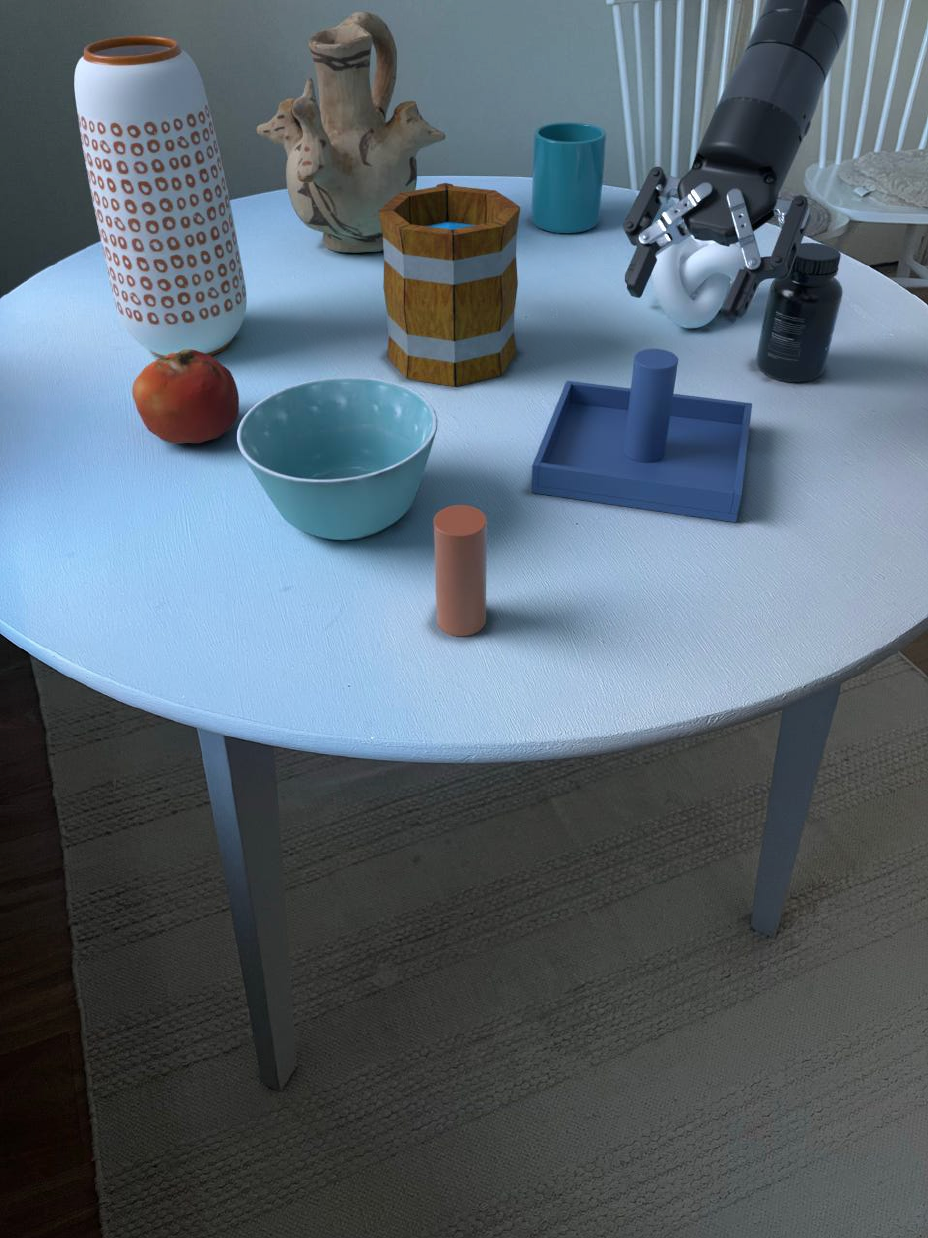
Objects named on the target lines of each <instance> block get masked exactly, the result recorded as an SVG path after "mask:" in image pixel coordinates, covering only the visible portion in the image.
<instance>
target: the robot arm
mask: <svg viewBox="0 0 928 1238" xmlns="http://www.w3.org/2000/svg"><path fill="white" fill-rule="evenodd" d="M848 27H849V16H848V12H847V9H846V7H845V5H844V4H843V2H842V1H841V0H765V1H764V4H763V7H762V10H761V12H760V14H759V17H758V21H757V22H756V24H755V27H754V29H753V31H752V32H751V35H750V38H749V40H748V42H747V45H746V47H745V49H744V52H743V54H742V56H741V58H740V60H739V62H738V63H737V65H736V67H735V68H734V70H733V71H732V73H731V75H730V77H729V79H728V81H727V82H726V84H725V88H724V90H723V92H722V94H721V96H720V99H719V101H718V103H717V106H716V108H715V110H714V112H713V115H712V116H711V119H710V122H709V123H708V126H707V129H706V131H705V133H704V135H703V138H702V140H701V142H700V144H699V147H698V149H697V151H696V153H695V156H694V159H693V162H692V166H691V168H690V169H689V170H688V172H687V173H686V174H685V175H683V176H682V177H681V178H679V177H676V176H672V175H669V174H666V173H665V171H664V169H663V168H662V167H661V166H654V167H652V168H651V169H650V171H649V172H648V175H647V176H646V178H645V180H644V181H643V184H642V186H641V188H640V190H639V191H638V194H637V196H636V198H635V200H634V202H633V204H632V205H631V208H630V210H629V212H628V214H627V216H626V218H625V220H624V222H623V224H622V229H623V231H624V233H625V234H626V237H627V238H628V240H629V242H630V244H631V245H632V246H635V247H636V248H635V251H634V253H633V255H632V257H631V260H630V262H629V265H628V266H627V269H626V271H625V274H624V282H625V284H626V289H627V291H628V293H629V294H630V296H631V297H634V298H637V299H640V298H641V297H643V294H644V291H645V290H646V287H647V285H648V282H649V280H650V278H651V277H652V276H651V273H652V271H653V269H654V266H655V264H656V262H657V258H656V256H657V255H658V254H660V253H661V252H662V251H664V250H665V249H667V248H668V247H670V246H671V245H673V244H679V243H681V242H682V241H684V240H685V239H686V238H688V237H689V236H691V235H693V236H694V239H697V240H701V241H715V242H716V243H718V244H720V245H723V246H727V247H729V246H730V244H734V243H736V244H737V243H739V247H741V250H742V254H743V257H744V261H745V267H744V270H743V269H739V271H738V274H737V276H736V278H735V281H734V283H733V285H732V287H731V290H730V292H729V294H728V296H727V299H726V301H725V303H724V305H723V308H722V311H721V316H722V318H723V320H724V322H726V323H731V324H734V323H735V322H736V320H737V318H740V319H742V318H743V317H744V316H745V315H746V314H747V312H748V309H749V307H750V305H751V304H752V301H753V300H752V298H753V296H754V294H755V292H756V289H757V287H758V285H759V284H760V285H761V283H762V282H763V281H766V280H774V279H776V280H779V281H783V280H785V279H787V278H788V276H789V274H790V271H791V269H792V266H793V263H794V261H795V258H796V255H797V253H798V250H799V247H800V245H801V243H803V242H802V241H803V239H804V237H805V233H806V231H807V229H808V226H809V223H810V221H811V212H810V211H811V210H810V205H809V202H808V198H807V197H806V196H805V195H796V196H795V197H794V198H793V199H792V200H791V199H786V198H784V199H783V198H779V194H780V192H781V189H782V188H783V186H784V183H785V181H786V178H787V176H788V174H789V173H790V169H791V167H792V166H793V163H794V160H795V159H796V156H797V154H798V152H799V150H800V148H801V144H802V143H803V140H804V138H805V137H806V136H807V134H808V133H809V130H810V128H811V124H812V120H813V118H814V115H815V113H816V110H817V108H818V105H819V100H820V97H821V94H822V91H823V88H824V86H825V83H826V80H827V78H828V75H829V74H830V71H831V68H832V67H833V64H834V62H835V60H836V58H837V56H838V54H839V52H840V49H841V47H842V45H843V43H844V40H845V37H846V34H847V32H848ZM676 195H677V197H678V200H679V201H678V202H676V203H675V204H673V205H672V206H670V208H668V209H666V210H665V211H664V212H662V214H661V216H660V218H659V219H658V220H657V221H655V219H656V217H657V214H658V213H659V211H660V209H661V207H662V205H666V204H668V203H669V201H670V200H671V198H672V197H673V196H676ZM775 216H777V217H778V218H777V221H778V224H779V227H780V229H781V230H780V232H779V234H778V237H777V241H776V243H775V245H774V247H773V248H774V249H773V250H772V253H771V255H770V256H769V255H768V256H761V253H760V250H759V247H758V243H757V240H756V236H755V233H754V232H755V231H757V230H758V229H760V228H761V227H763V226H764V225H766V224H767V223H768V222H769V221H771V220H772V219H773V218H775ZM682 220H683V221H682ZM654 221H655V222H654ZM680 221H682V222H681V223H680ZM760 285H759V286H760ZM753 299H754V298H753Z"/></svg>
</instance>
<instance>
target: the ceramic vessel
mask: <svg viewBox="0 0 928 1238" xmlns="http://www.w3.org/2000/svg"><path fill="white" fill-rule="evenodd" d="M308 47H309V50H310V54H311V57H312V60H313V64H314V69H315V74H316V80H317V86H318V94H319V95H318V97H319V103H318V100H317V97H316V92H315V84H314V80H313V78H312V77H308V78H307V80H306V82H305V86H304V90H303V93H302V95H301V96H299V97H298V98H296V99H295V98H294V97H293V98H292V97H290V98H289V97H288V98H287V99H285V100H282V101H281V102H280V103H279V106H278V110H277V112H276V114H275V115H274V116H273V117H272V118H271V119H270V120H269V121H267V122H264V123H261V124H259V125H257V126H256V132H257V134H258V135H259V136H260V137H262V138H263V139H266V140H268V141H270V142H272V143H273V144H275V145H276V146H277V147H281V148H283V149H284V150H285V154H286V157H287V161H286V167H285V171H286V172H285V179H286V180H285V181H286V189H287V192H288V196H289V199H290V202H291V206H292V208H293V210H294V212H295V214H296V216H297V217H298V218H299V220H300V221H301V223H303V224H304V225H305V227H307V228H309V229H312V230H313V231H316V232H320V233H322V244H323V246H324V247H325V248H326V249H328V250H330V251H333V252H339V253H378V252H382V251H384V248H383V235H382V229H381V224H380V218H379V212H378V211H379V210H380V209H381V208H382V207H383V206H384V205H385V204H387V203H388V202H389V201H390V200H391V199H392V198H394V197H395V196H396V195H397V194H398V193H402V192H408V191H414V190H417V189H416V188H417V183H418V182H417V181H418V163H417V154H418V152H419V151H420V150H421V149H424V148H427V147H429V146H431V145H433V144H437V143H439V142H443V141H445V140H446V136H447V135H446V134H445V132H443V131H441V130H439V129H437V128H436V127H433V126H432V125H431V124H430V123H429V122H428V121H426V119H424V118H423V116H422V114H421V112H420V111H419V108H418V104H417V102H416V101H415V100H406V101H403V102H400V103H398V105H397V106H396V107H395V108H394V110H393V114H392V116H391V117H390V119H389V120H388V121H387V113H388V109H389V107H390V104H391V101H392V99H393V95H394V92H395V86H396V82H397V73H398V51H397V50H398V49H397V46H396V42H395V39H394V36H393V34H392V32H391V30H390V28H389V26H388V24H386V23H385V21H384V20H383V19H382V18H381V17H380V16H378V15H377V14H374V13H372V12H370V11H355V12H353V13H352V14H351V15H350V16H348V17H347V18H346V19H344V20H343V21H342V22H341V23H339V24H338V25H336V27H331V28H323V29H320V30H319V31H317V32H316V33H314V34H313V35H312V36H311V37H310V38H309V41H308ZM373 47H374V50H375V56H376V57H375V58H376V59H375V60H376V61H375V72H374V80H373V84H372V87H371V56H372V55H371V54H372V48H373Z"/></svg>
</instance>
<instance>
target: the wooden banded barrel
mask: <svg viewBox="0 0 928 1238" xmlns="http://www.w3.org/2000/svg"><path fill="white" fill-rule="evenodd" d="M378 212H379V218H380V224H381V229H382V235H383V248H384V250H383V282H382V283H383V284H382V287H383V288H382V289H383V294H384V301H385V308H386V314H387V315H386V316H387V328H388V340H387V341H388V342H387V359H388V360H389V361H390V362H391V364H393V366H394V367H395V368H396V369H397V370H398V371H399V372H400V373H401V374H402V375H403V376H404V378H406V379H407V380H411V381H417V382H424V383H429V384H434V385H435V384H437V385H442V386H448V387H455V388H456V387H460V386H464V385H468V384H472V383H477V382H481V381H485V380H488V379H489V380H490V379H493V378H498V377H502V376H503V374H504V373H505V371H506V369H507V368H508V367H509V366H510V364H511V362H512V361H513V359H514V358H515V356H516V355H517V348H516V347H517V346H516V335H515V314H516V312H515V311H516V303H517V294H518V287H519V285H518V284H519V281H518V280H519V279H518V264H517V263H518V262H517V238H518V237H517V236H518V235H517V234H518V227H519V221H520V220H519V219H520V214H521V213H520V212H521V206H520V205H519V204H517V203H516V202H514V201H512V200H511V199H510V198H508V197H507V196H505V195H503V194H502V193H500V192H499V191H498V190H495V189H488V188H487V189H486V188H476V187H468V186H467V187H466V186H459V185H453V184H452V183H448V182H443V183H438V184H436V186H433V187H426V188H421V189H415V190H414V191H408V192H402V193H398V194H397V195H396V196H395V197H394V198H392V199H391V200H390V201H389V202H388V203H387V204H385V205H384V206H383V207H382V208H381V209H380V210H379V211H378Z"/></svg>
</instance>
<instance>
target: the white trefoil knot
mask: <svg viewBox="0 0 928 1238" xmlns="http://www.w3.org/2000/svg"><path fill="white" fill-rule="evenodd" d="M656 258H657V262H656V264H655V266H654V269H653V271H652V273H651V276H650V277H651V282H652V286H653V287H652V288H653V290H654V293H655V296H656V299H657V302H658V303H659V306H660V307H661V310H662V311H663V312H664V314H665V315H666V316H667V318H668V319H670V320H671V321H672V322H673V323H674V324H675V325H677V326H679V327H681V328H684V329H698V328H699V329H700V328H702V327H704V326H706V325H708V324H709V323H710V322H711V321H713V320H714V318H715V317H716V316H717V315H718V313H719V311H721V312H722V308H723V305H724V303H725V301H726V299H727V296H728V294H729V292H730V290H731V287H732V285H733V283H734V281H735V278H736V276H737V274H738V271H739V269H743V270H744V267H745V261H744V257H743V254H742V250H741V247H740V245H737V243H734V244H730V246H729V247H727V246H723V245H720V244H718V243H716V242H715V241H701V240H697V239H694V236H693V235H691V236H689V237H688V238H686V239H685V240H684V241H682V242H681V243H679V244H673V245H671V246H670V247H668V248H667V249H665V250H664V251H662V252H661V253H660V254H658V255H657V256H656ZM760 285H761V283H760V284H759V285H758V287H757V289H756V292H755V294H754V296H753V298H752V301H753V300H754V299H755V297H756V295H757V293H758V292H759V289H760ZM694 294H695V297H694V298H691V297H692V296H693V295H694Z"/></svg>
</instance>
